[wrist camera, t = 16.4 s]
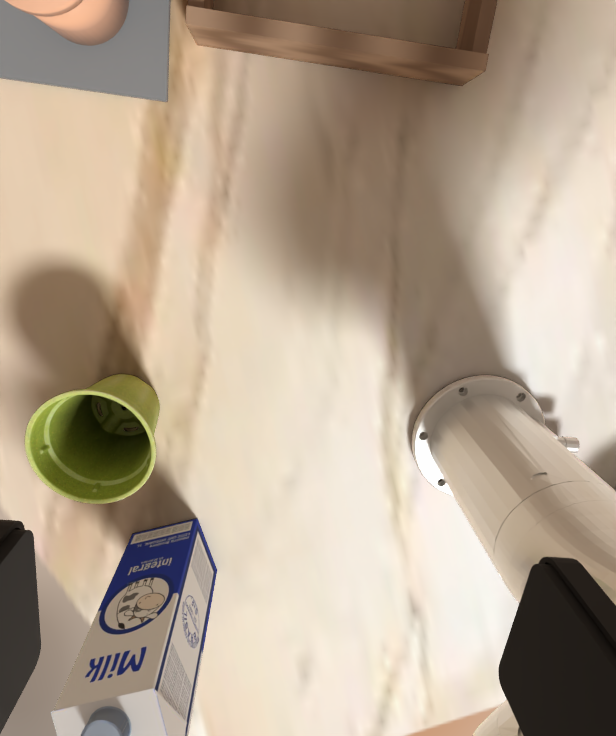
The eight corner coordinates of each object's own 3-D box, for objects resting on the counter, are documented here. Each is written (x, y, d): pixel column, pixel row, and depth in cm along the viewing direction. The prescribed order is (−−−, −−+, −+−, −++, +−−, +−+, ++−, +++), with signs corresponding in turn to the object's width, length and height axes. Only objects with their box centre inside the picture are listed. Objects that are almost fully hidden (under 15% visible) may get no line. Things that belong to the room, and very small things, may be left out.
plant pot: (59, 363, 43) (6, 401, 35) (165, 347, 43) (137, 382, 35) (89, 456, 46) (47, 512, 38) (188, 442, 46) (168, 494, 38)
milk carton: (153, 585, 51) (77, 812, 32) (130, 533, 49) (35, 744, 30) (218, 570, 51) (181, 789, 32) (199, 517, 49) (146, 719, 30)
